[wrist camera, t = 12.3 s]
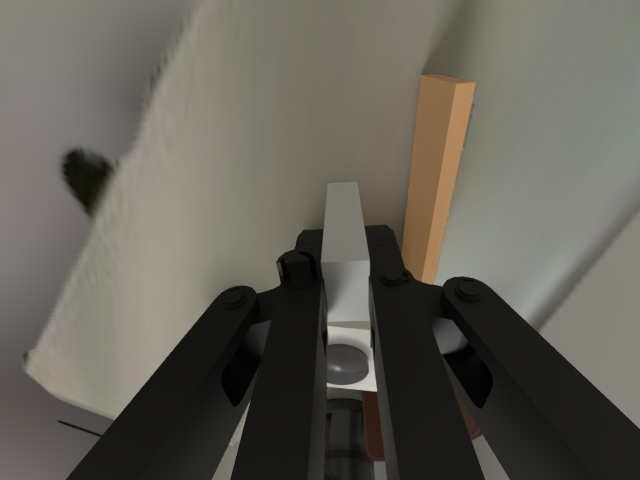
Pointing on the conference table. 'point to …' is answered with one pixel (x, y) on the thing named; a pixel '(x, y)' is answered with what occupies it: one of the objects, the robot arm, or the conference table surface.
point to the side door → (434, 169)
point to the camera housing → (350, 356)
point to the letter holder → (374, 424)
